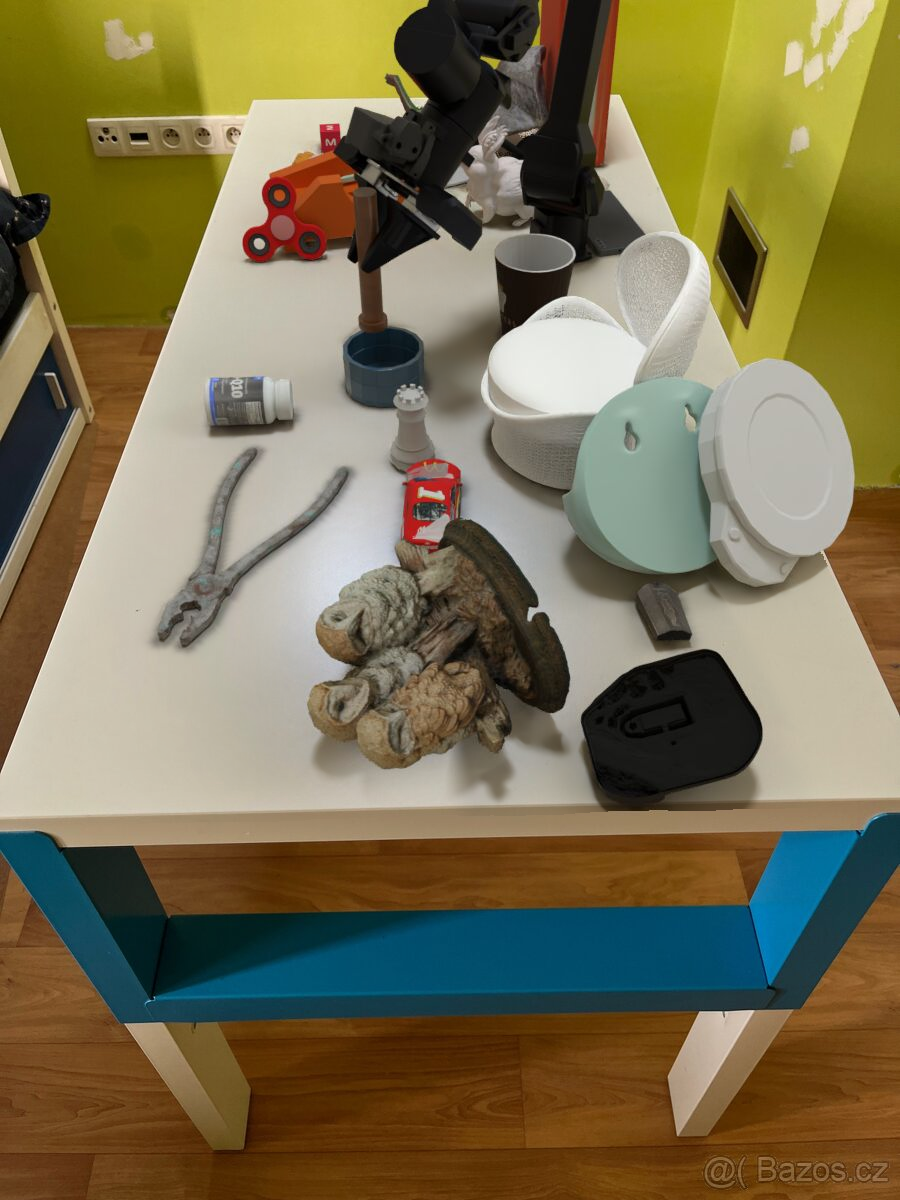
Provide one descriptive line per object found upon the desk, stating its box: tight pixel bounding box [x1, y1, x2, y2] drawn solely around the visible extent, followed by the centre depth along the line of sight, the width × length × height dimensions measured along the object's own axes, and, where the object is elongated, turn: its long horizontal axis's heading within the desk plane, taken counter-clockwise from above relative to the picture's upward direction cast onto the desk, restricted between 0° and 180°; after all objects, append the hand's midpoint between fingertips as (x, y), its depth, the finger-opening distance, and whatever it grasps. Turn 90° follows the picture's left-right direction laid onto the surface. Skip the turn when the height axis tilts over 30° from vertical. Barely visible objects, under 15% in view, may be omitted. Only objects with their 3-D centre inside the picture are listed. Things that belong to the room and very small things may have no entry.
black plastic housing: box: [580, 648, 764, 807], centre depth 72 cm, size 12×10×5 cm
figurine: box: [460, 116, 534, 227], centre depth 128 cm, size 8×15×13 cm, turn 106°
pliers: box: [157, 446, 349, 646], centre depth 88 cm, size 11×1×25 cm
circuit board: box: [479, 133, 523, 154], centre depth 149 cm, size 8×8×1 cm
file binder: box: [538, 0, 621, 167], centre depth 138 cm, size 8×17×32 cm, turn 4°
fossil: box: [489, 45, 548, 137], centre depth 141 cm, size 15×14×10 cm
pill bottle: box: [203, 375, 294, 427], centre depth 100 cm, size 5×5×8 cm
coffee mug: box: [494, 233, 576, 338], centre depth 110 cm, size 12×9×10 cm
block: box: [634, 581, 693, 642], centre depth 81 cm, size 4×6×2 cm, turn 10°
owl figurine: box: [306, 516, 571, 770], centre depth 72 cm, size 18×12×17 cm
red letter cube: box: [319, 123, 342, 154], centre depth 148 cm, size 3×3×3 cm
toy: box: [241, 177, 327, 263], centre depth 122 cm, size 10×10×1 cm
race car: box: [400, 458, 463, 553], centre depth 89 cm, size 13×5×4 cm, turn 177°
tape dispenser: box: [268, 150, 419, 255], centre depth 128 cm, size 18×13×8 cm
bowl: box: [342, 325, 426, 408], centre depth 104 cm, size 8×8×4 cm
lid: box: [698, 357, 856, 588], centre depth 85 cm, size 17×20×3 cm
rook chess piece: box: [389, 384, 437, 473], centre depth 94 cm, size 4×4×8 cm
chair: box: [480, 230, 712, 491], centre depth 91 cm, size 20×20×20 cm
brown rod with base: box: [353, 187, 389, 333], centre depth 97 cm, size 3×3×14 cm
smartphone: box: [587, 189, 652, 257], centre depth 130 cm, size 7×1×15 cm
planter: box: [561, 376, 719, 575], centre depth 86 cm, size 19×7×16 cm
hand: (357, 266), depth 97 cm, fingers closed on brown rod with base, 2 cm apart
